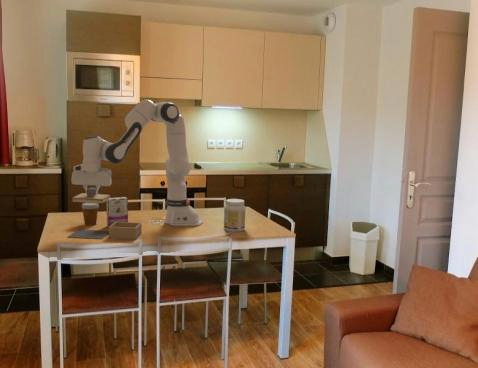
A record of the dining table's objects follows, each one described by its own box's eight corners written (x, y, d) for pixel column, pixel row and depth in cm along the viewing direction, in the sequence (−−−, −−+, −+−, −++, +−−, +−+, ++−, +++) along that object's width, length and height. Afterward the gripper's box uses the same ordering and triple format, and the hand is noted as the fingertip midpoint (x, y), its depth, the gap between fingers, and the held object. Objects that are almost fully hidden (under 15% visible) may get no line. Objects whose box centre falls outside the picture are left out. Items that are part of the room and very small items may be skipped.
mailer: (141, 233, 263) (141, 222, 262) (135, 239, 251) (135, 228, 250) (115, 232, 263) (115, 221, 262) (108, 238, 251) (108, 226, 250)
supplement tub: (237, 226, 287) (238, 197, 284) (249, 230, 277) (250, 201, 274) (219, 228, 280) (220, 199, 278) (230, 233, 270) (231, 203, 268)
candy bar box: (125, 224, 281) (125, 196, 278) (128, 226, 277) (128, 198, 274) (106, 226, 276) (105, 197, 273) (108, 228, 271) (108, 199, 269)
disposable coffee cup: (102, 224, 279) (102, 204, 277) (87, 227, 272) (87, 206, 270) (93, 221, 285) (93, 201, 284) (78, 224, 278) (78, 203, 277)
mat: (111, 231, 265) (111, 230, 265) (101, 239, 250) (101, 238, 249) (78, 229, 266) (78, 229, 266) (67, 237, 250) (67, 236, 250)
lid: (110, 198, 261) (110, 187, 260) (102, 203, 248) (102, 191, 247) (81, 196, 261) (81, 185, 260) (72, 201, 248) (72, 189, 247)
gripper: (113, 167, 255) (113, 193, 257) (74, 165, 255) (74, 191, 257) (109, 169, 249) (109, 195, 251) (70, 166, 249) (70, 193, 251)
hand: (91, 193), depth 254 cm, fingers closed on lid, 3 cm apart
